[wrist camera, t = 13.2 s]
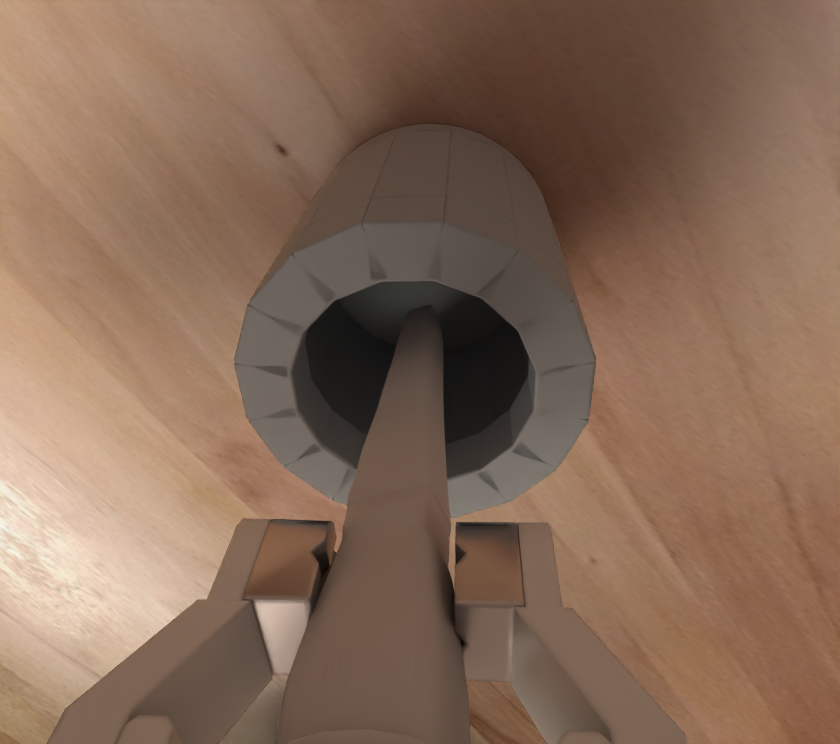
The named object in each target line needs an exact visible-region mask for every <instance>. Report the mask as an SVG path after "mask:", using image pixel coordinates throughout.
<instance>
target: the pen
mask: <svg viewBox="0 0 840 744" xmlns="http://www.w3.org/2000/svg"><path fill="white" fill-rule="evenodd" d="M450 532H451V521H450V510H449V499H448V486H447V470H446V452H445V432H444V403H443V337H442V331H441V326H440V323H439V320H438V318H437V316H436V313H435V311H434V309H433V307H432V306H431V305H427V306H424V307H420V308H417V309H415V310H412V311H409V312H408V313H407V315H406V318H405V319H404V322H403V324H402V327H401V331H400V334H399V338H398V341H397V344H396V349H395V353H394V357H393V360H392V364H391V366H390V369H389V372H388V375H387V378H386V382H385V385H384V388H383V391H382V395H381V398H380V401H379V404H378V408H377V411H376V414H375V416H374V419H373V422H372V424H371V427H370V430H369V433H368V435H367V438H366V441H365V444H364V446H363V449H362V452H361V456H360V460H359V463H358V467H357V471H356V475H355V478H354V481H353V484H352V486H351V489H350V492H349V494H348V501H347V512H346V517H345V522H344V525H343V537H342V542H341V544H340V547H339V550H338V552H337V554H336V556H335V559H334V562H333V564H332V567H331V569H330V571H329V574H328V576H327V579H326V581H325V584H324V586H323V588H322V590H321V593H320V595H319V598H318V600H317V603H316V606H315V609H314V611H313V614H312V616H311V618H310V620H309V622H308V624H307V627H306V629H305V632H304V635H303V637H302V640H301V642H300V645H299V648H298V651H297V654H296V656H295V659H294V662H293V665H292V668H291V671H290V673H289V676H288V679H287V682H286V688H285V693H284V698H283V703H282V709H281V714H280V720H279V725H278V730H277V740H276V744H470V721H469V706H468V693H467V684H466V675H465V667H464V659H463V652H462V646H461V639H460V638H459V637H458V636H457V635H456V634H455V609H454V598H455V594H454V589H453V583H452V579H451V576H450V573H449V570H448V562H449V537H450Z"/></svg>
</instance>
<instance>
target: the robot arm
mask: <svg viewBox="0 0 840 744" xmlns="http://www.w3.org/2000/svg"><path fill="white" fill-rule="evenodd" d="M335 542H336V532H335V527H334V523H333V522H331V521H311V520H286V519H273V520H272V519H246V518H243V519H242V520H241V522H240V523H239V524H238V525H237V526H236V529H235V531H234V534H233V536H232V539H231V541H230V544H229V546H228V548H227V551H226V553H225V556H224V558H223V561H222V563H221V566H220V568H219V571H218V573H217V576H216V578H215V581H214V583H213V585H212V588H211V590H210V593H209V595H208V598H207V600H197V601H195V602H194V603H193V604H192V605H191V606H189V607H188V608H187V609H186V610H185V611H183V612H182V613H181V614H180V615H178V616H177V617H176V618H175V619H174V620H172V621H171V622H170V623H169V624H168V625H166V626H165V627H164V628H163V629H162V630H160V631H159V632H158V633H157V634H155V635H154V636H153V637H152V638H151V639H149V640H148V641H147V642H146V643H145V644H143V645H142V646H141V647H140V648H138V649H137V650H136V651H135V652H134V653H132V654H131V655H130V656H129V657H128V658H126V659H125V660H124V661H123V662H122V663H120V664H119V665H118V666H117V667H115V668H114V669H113V670H112V671H111V672H109V673H108V674H107V675H106V676H105V677H103V678H102V679H101V680H100V681H98V682H97V683H96V684H95V685H94V686H92V687H91V688H90V689H89V690H88V691H86V692H85V693H84V694H83V695H82V696H80V697H79V698H78V699H77V700H75V701H74V702H73V703H72V704H71V705H69V706H68V707H67V708H66V709H65V710H64V712H63V714H62V716H61V718H60V720H59V722H58V723H57V725H56V727H55V729H54V731H53V733H52V735H51V736H50V738H49V740H48V742H47V744H218V743H219V742H220V741H221V740H222V739H223V737H224V736H225V735H226V734H227V733H228V731H229V730H230V729H231V728H232V727H233V725H234V724H235V723H236V722H237V721H238V719H239V718H240V717H241V716H242V714H243V713H244V712H245V711H246V710H247V708H248V707H249V706H250V705H251V704H252V702H253V701H254V700H255V699H256V698H257V696H258V695H259V694H260V693H261V692H262V690H263V689H264V688H265V687H266V686H267V684H268V683H269V682H270V681H271V680H272V675H289V673H290V671H291V668H292V665H293V662H294V659H295V656H296V654H297V651H298V648H299V645H300V642H301V640H302V637H303V635H304V632H305V629H306V627H307V624H308V622H309V620H310V618H311V616H312V614H313V611H314V609H315V606H316V603H317V600H318V598H319V595H320V593H321V590H322V588H323V586H324V584H325V581H326V579H327V576H328V574H329V571H330V569H331V567H332V564H333V562H334V559H335V556H336V554H337V553H336V552H335V551H334V547H335ZM455 554H456V565H455V598H454V609H455V634H456V635H457V636H458V637H459V638H460V639H461V646H462V652H463V659H464V667H465V675H466V680H478V681H495V682H511V684H510V685H511V687H512V689H513V690H514V692H515V693H516V695H517V697H518V698H519V700H520V701H521V703H522V705H523V706H524V708H525V709H526V711H527V713H528V714H529V716H530V718H531V719H532V721H533V722H534V724H535V726H536V727H537V729H538V730H539V732H540V734H541V735H542V737H543V739H544V740H545V742H546V743H547V744H687V740H686V737H685V733H684V732H683V731H682V730H681V729H680V728H679V726H678V725H677V724H676V723H675V722H674V721H673V720H672V719H671V718H670V716H669V715H668V714H667V713H666V712H665V711H664V710H663V709H662V708H661V706H660V705H659V704H658V703H657V702H656V701H655V700H654V699H653V698H652V696H651V695H650V694H649V693H648V692H647V691H646V690H645V689H644V687H643V686H642V685H641V684H640V683H639V682H638V681H637V680H636V679H635V677H634V676H633V675H632V674H631V673H630V672H629V671H628V670H627V669H626V667H625V666H624V665H623V664H622V663H621V662H620V661H619V660H618V659H617V657H616V656H615V655H614V654H613V653H612V652H611V651H610V650H609V649H608V647H607V646H606V645H605V644H604V643H603V642H602V641H601V640H600V639H599V637H598V636H597V635H596V634H595V633H594V632H593V631H592V630H591V628H590V627H589V626H588V625H587V624H586V623H585V622H584V621H583V620H582V618H581V617H580V616H579V615H578V614H577V613H576V612H575V611H574V610H573V608H563V606H562V599H561V593H560V586H559V579H558V572H557V566H556V559H555V552H554V545H553V539H552V532H551V527H550V525H549V524H548V523H517V524H516V523H509V522H456V538H455Z"/></svg>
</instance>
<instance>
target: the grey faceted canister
mask: <svg viewBox="0 0 840 744" xmlns="http://www.w3.org/2000/svg"><path fill="white" fill-rule="evenodd" d="M427 305H431V306H432V307H433V309H434V311H435V313H436V316H437V318H438V320H439V323H440V326H441V331H442V337H443V403H444V432H445V452H446V470H447V486H448V499H449V510H450V516H451V517H452V518H455V517H458V516H462V515H465V514H469V513H472V512H476V511H479V510H483V509H486V508H490V507H493V506H497V505H500V504H504V503H506V502H508V501H509V502H510V501H512V500H513V499H515V498H516V497H518V496H519V495H521V494H522V493H524V492H525V491H526V490H528V489H529V488H531V487H532V486H534V485H535V484H537V483H538V482H539V481H541V480H542V479H544V478H545V477H547V476H548V475H550V474H551V473H552V472H554V471H555V470H556V469H557V468H558V467H559V466H560V464H561V463H562V461H563V460H564V458H565V457H566V455H567V454H568V452H569V450H570V449H571V447H572V446H573V444H574V443H575V441H576V440H577V438H578V437H579V435H580V434H581V432H582V430H583V429H584V427H585V426H586V424H587V423H588V417H589V415H590V408H591V400H592V392H593V383H594V375H595V367H596V357H595V353H594V350H593V347H592V344H591V341H590V338H589V335H588V331H587V328H586V325H585V322H584V319H583V316H582V313H581V309H580V306H579V303H578V300H577V297H576V294H575V290H574V287H573V284H572V281H571V278H570V275H569V272H568V268H567V265H566V262H565V259H564V256H563V253H562V249H561V246H560V243H559V240H558V237H557V234H556V231H555V228H554V225H553V223H552V220H551V217H550V215H549V212H548V209H547V205H546V202H545V200H544V198H543V195H542V193H541V190H540V189H539V187H538V185H537V183H536V182H535V180H534V179H533V177H532V176H531V174H530V173H529V171H528V170H527V169H526V168H525V167H524V166H523V164H522V163H521V162H520V161H519V160H518V159H517V158H516V157H515V156H513V155H512V154H511V153H510V152H509V151H508V150H507V149H505V148H504V147H502V146H501V145H499V144H498V143H496V142H495V141H493V140H491V139H489V138H487V137H485V136H483V135H481V134H479V133H477V132H473V131H470V130H467V129H464V128H461V127H456V126H450V125H444V124H418V125H408V126H404V127H400V128H396V129H392V130H390V131H387V132H384V133H382V134H379V135H377V136H375V137H373V138H371V139H370V140H368V141H366V142H364V143H363V144H361V145H360V146H359V147H357V148H356V149H355V150H353V151H352V152H351V153H349V154H348V155H347V156H346V157H345V158H344V159H343V160H342V162H341V163H340V164H339V165H338V166H337V167H336V168H335V170H334V171H333V172H332V174H331V175H330V177H329V178H328V179H327V181H326V182H325V184H324V185H323V186H322V187H321V188H320V189H319V191H318V192H317V193H316V195H315V197H314V198H313V200H312V201H311V203H310V205H309V206H308V208H307V209H306V211H305V213H304V214H303V216H302V217H301V219H300V221H299V222H298V224H297V225H296V227H295V229H294V230H293V232H292V233H291V235H290V237H289V238H288V240H287V241H286V243H285V245H284V246H283V248H282V250H281V251H280V253H279V254H278V256H277V258H276V259H275V261H274V262H273V264H272V266H271V267H270V269H269V270H268V272H267V273H266V275H265V277H264V278H263V280H262V281H261V283H260V285H259V286H258V288H257V289H256V291H255V293H254V294H253V296H252V297H251V299H250V301H249V303H248V305H247V308H246V312H245V317H244V321H243V325H242V329H241V333H240V337H239V342H238V346H237V350H236V354H235V358H234V360H235V363H234V366H235V370H236V374H237V378H238V383H239V387H240V391H241V395H242V400H243V404H244V408H245V412H246V417H247V419H249V422H250V424H251V425H252V426H253V428H254V429H255V430H256V432H257V433H258V434H259V436H260V437H261V439H262V440H263V441H264V443H265V444H266V445H267V447H268V448H269V449H270V451H271V452H272V453H273V455H274V456H275V457H276V459H277V460H278V461H279V463H280V464H281V465H284V467H285V468H286V469H287V470H289V471H290V472H292V473H293V474H295V475H296V476H298V477H299V478H300V479H302V480H303V481H305V482H306V483H308V484H309V485H311V486H312V487H314V488H315V489H317V490H318V491H320V492H321V493H323V494H324V495H326V496H327V497H329V498H332V499H333V501H335V502H339V503H342V504H345V505H347V501H348V494H349V492H350V489H351V486H352V484H353V481H354V478H355V475H356V471H357V467H358V463H359V460H360V456H361V452H362V449H363V446H364V444H365V441H366V438H367V435H368V433H369V430H370V427H371V424H372V422H373V419H374V416H375V414H376V411H377V408H378V404H379V401H380V398H381V395H382V391H383V388H384V385H385V382H386V378H387V375H388V372H389V369H390V366H391V364H392V360H393V357H394V353H395V349H396V344H397V341H398V338H399V334H400V331H401V327H402V324H403V322H404V319H405V318H406V315H407V313H408V312H409V311H412V310H415V309H417V308H420V307H424V306H427Z"/></svg>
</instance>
